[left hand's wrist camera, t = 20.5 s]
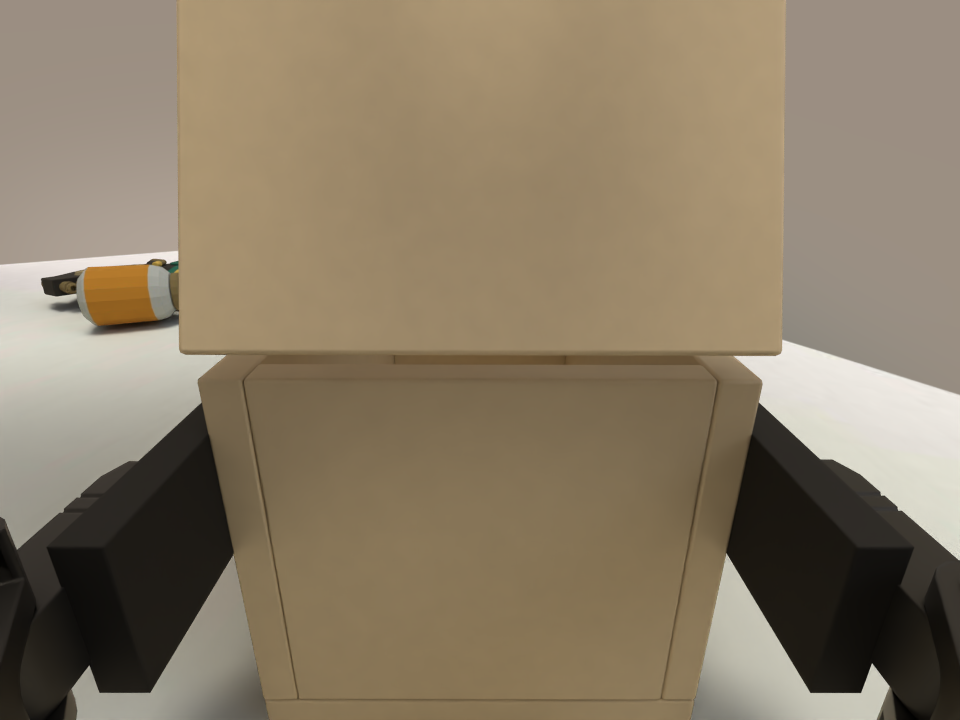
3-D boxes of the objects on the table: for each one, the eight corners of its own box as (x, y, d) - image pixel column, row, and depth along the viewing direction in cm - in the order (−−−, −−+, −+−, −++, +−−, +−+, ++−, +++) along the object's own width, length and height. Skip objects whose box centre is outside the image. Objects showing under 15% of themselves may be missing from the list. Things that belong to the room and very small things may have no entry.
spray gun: (45, 305, 47) (225, 284, 57) (67, 343, 35) (291, 308, 45) (32, 256, 46) (219, 242, 55) (50, 277, 34) (284, 256, 43)
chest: (384, 405, 28) (372, 232, 25) (575, 405, 28) (588, 232, 25) (267, 724, 13) (195, 379, 9) (691, 724, 13) (765, 380, 9)
